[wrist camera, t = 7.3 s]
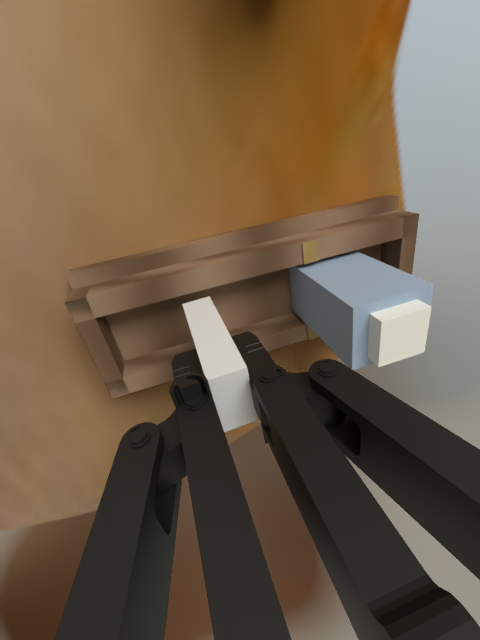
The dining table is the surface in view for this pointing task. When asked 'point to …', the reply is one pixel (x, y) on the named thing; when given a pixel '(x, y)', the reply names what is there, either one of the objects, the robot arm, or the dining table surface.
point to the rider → (362, 308)
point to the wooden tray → (221, 286)
